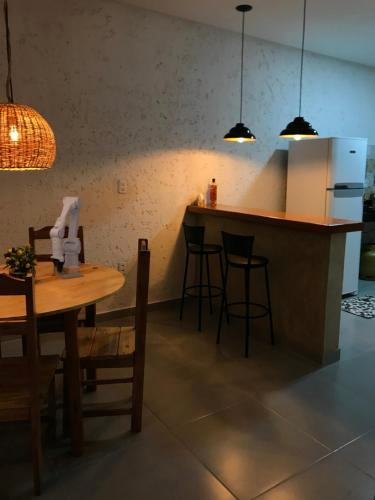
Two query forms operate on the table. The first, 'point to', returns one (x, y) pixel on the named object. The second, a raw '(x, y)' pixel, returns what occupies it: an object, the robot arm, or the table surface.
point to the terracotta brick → (72, 269)
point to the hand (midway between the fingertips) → (58, 271)
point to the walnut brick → (57, 271)
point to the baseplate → (71, 275)
